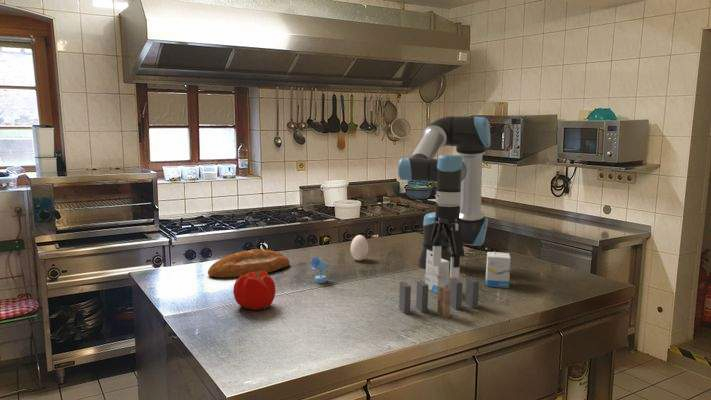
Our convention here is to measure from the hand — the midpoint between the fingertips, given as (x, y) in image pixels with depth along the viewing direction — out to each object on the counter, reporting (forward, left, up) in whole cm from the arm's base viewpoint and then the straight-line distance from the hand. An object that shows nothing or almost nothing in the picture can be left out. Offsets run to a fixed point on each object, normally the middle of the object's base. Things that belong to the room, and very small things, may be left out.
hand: (445, 271), depth 165 cm
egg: (-70, -9, -15) cm, 72 cm away
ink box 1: (-24, +8, -15) cm, 29 cm away
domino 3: (-6, +7, -15) cm, 17 cm away
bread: (-63, -57, -15) cm, 86 cm away
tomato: (-20, -58, -15) cm, 63 cm away
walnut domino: (0, 0, -15) cm, 15 cm away
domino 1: (-6, -11, -14) cm, 19 cm away
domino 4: (-6, +13, -15) cm, 20 cm away
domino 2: (-6, -5, -14) cm, 16 cm away
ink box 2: (-26, +34, -15) cm, 45 cm away
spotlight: (-43, -32, -15) cm, 56 cm away
